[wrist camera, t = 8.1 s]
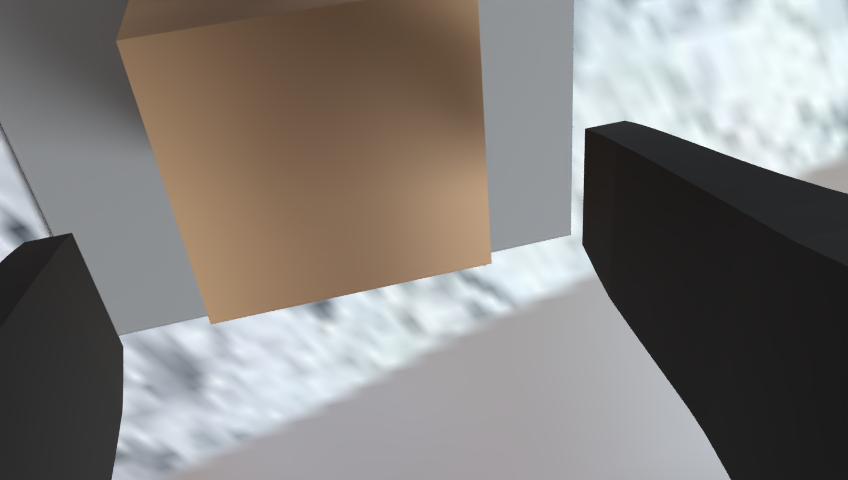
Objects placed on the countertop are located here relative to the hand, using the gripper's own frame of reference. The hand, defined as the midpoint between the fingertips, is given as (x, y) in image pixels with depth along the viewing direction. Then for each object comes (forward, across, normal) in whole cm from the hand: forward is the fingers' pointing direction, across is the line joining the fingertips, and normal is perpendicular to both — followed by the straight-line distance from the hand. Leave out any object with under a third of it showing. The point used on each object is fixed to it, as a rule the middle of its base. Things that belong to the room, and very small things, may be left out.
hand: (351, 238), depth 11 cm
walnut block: (+8, 0, 0) cm, 8 cm away
